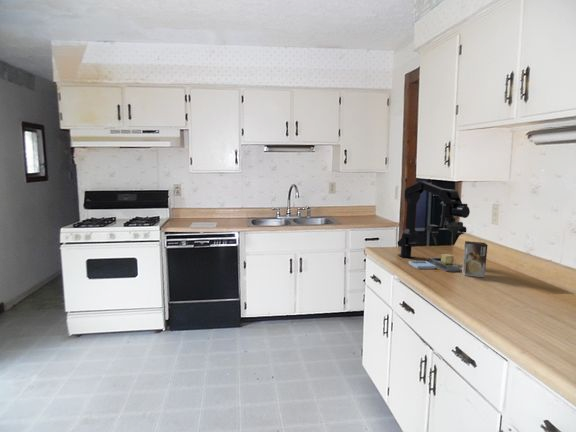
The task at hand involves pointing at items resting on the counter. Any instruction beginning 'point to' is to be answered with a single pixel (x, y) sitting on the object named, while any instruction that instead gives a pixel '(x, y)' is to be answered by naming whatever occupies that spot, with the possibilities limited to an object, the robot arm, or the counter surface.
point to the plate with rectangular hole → (445, 267)
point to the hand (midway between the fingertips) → (444, 245)
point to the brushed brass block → (447, 259)
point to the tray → (422, 265)
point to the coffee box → (474, 259)
